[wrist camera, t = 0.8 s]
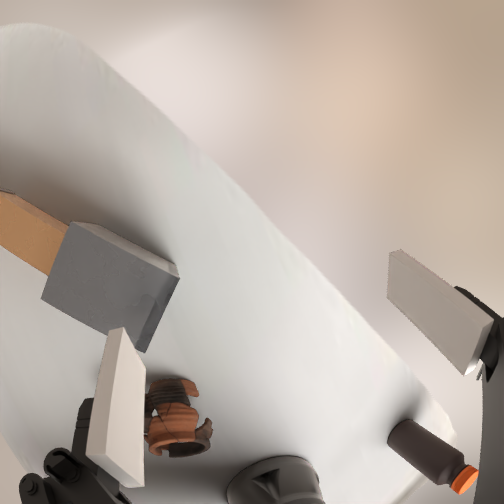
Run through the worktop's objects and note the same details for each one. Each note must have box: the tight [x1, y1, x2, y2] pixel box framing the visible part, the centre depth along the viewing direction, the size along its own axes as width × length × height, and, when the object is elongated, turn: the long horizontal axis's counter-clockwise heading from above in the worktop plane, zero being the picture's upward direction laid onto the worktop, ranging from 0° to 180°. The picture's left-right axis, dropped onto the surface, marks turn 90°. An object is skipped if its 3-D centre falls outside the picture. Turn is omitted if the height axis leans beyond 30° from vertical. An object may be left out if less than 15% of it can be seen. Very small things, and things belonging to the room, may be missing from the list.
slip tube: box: [0, 188, 69, 276], centre depth 25 cm, size 4×20×6 cm, turn 62°
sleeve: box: [41, 221, 180, 353], centre depth 27 cm, size 7×10×10 cm
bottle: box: [388, 419, 479, 494], centre depth 37 cm, size 7×7×20 cm
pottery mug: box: [144, 378, 213, 458], centre depth 32 cm, size 12×9×8 cm
